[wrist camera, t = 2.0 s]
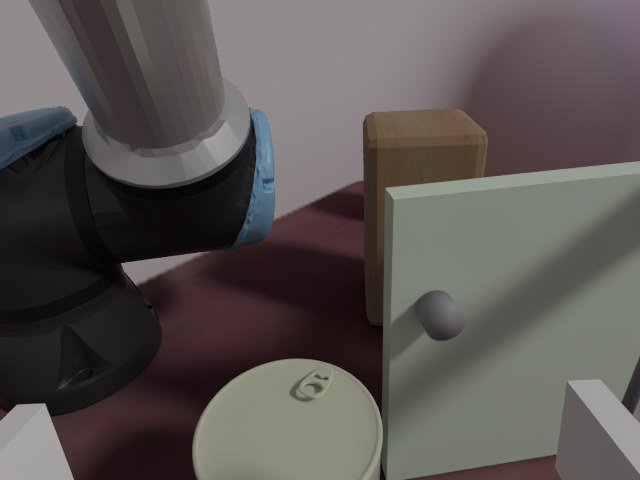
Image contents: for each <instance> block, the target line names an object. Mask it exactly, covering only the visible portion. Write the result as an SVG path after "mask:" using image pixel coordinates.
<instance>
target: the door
mask: <svg viewBox="0 0 640 480" xmlns="http://www.w3.org/2000/svg"><path fill="white" fill-rule="evenodd" d="M595 379H600V380H601V381H602V382H603V383H604V384H605V385H606V386H607V388H608V389H609V390H610V391H611V392H612V393H613V394H614V395H615V397H616V398H617V399H618V400H619V401H620V402H621V403H622V404H623V405H624V407H625V408H626V409H627V410H628V411H629V412H630V413H631V414H632V416H633V414H634V411H635V409H636V406H637V404H638V402H639V399H640V161H638V162H630V163H619V164H609V165H600V166H590V167H581V168H571V169H562V170H552V171H543V172H533V173H523V174H514V175H504V176H495V177H485V178H475V179H466V180H456V181H447V182H437V183H427V184H418V185H408V186H399V187H389V188H385V229H384V300H383V370H382V426H383V442H382V449H381V463H382V467H383V471H384V474H385V478H386V480H405V479H411V478H417V477H423V476H429V475H435V474H441V473H447V472H453V471H459V470H465V469H471V468H477V467H483V466H489V465H495V464H501V463H507V462H513V461H519V460H525V459H531V458H537V457H543V456H550V455H556V454H557V450H558V442H559V435H560V428H561V420H562V413H563V406H564V399H565V391H566V384H567V381H572V380H595Z"/></svg>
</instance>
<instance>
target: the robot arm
mask: <svg viewBox="0 0 640 480" xmlns="http://www.w3.org/2000/svg"><path fill="white" fill-rule="evenodd" d="M29 2H30V4H31V5H32V7H33V9H34V11H35V13H36V15H37V16H38V18H39V20H40V22H41V23H42V25H43V27H44V29H45V31H46V32H47V34H48V36H49V38H50V39H51V41H52V43H53V45H54V47H55V48H56V50H57V52H58V54H59V56H60V58H61V59H62V61H63V63H64V65H65V66H66V68H67V70H68V72H69V74H70V75H71V77H72V79H73V81H74V83H75V84H76V86H77V88H78V90H79V92H80V93H81V95H82V97H83V99H84V101H85V102H86V104H87V106H88V108H89V110H88V112H87V114H86V116H85V119H84V122H83V126H77V125H76V123H77V119H76V117H75V116H73V114H72V113H71V111H70V110H69V109H68V108H65V107H61V106H59V107H56V108H55V107H53V108H43V109H38V110H32V111H27V112H23V113H18V114H14V115H10V116H6V117H2V118H0V405H1V406H2V407H3V408H4V409H5V410H7V411H9V413H8V414H7V415H6V416H5V417H4V418H3V419H2V420H1V421H0V480H74V479H73V476H72V474H71V471H70V468H69V466H68V463H67V460H66V458H65V455H64V452H63V450H62V447H61V444H60V442H59V439H58V436H57V434H56V431H55V428H54V426H53V423H52V421H51V418H50V416H54V415H60V414H64V413H68V412H72V411H75V410H78V409H81V408H84V407H87V406H89V405H92V404H94V403H96V402H98V401H101V400H102V399H104V398H106V397H108V396H110V395H112V394H114V393H115V392H117V391H118V390H120V389H121V388H123V387H124V386H126V385H127V384H129V383H130V382H131V381H132V380H134V379H135V378H136V377H137V376H138V375H139V374H140V373H141V372H142V371H143V370H144V369H145V368H146V367H147V366H148V365H149V364H150V362H151V361H152V360H153V358H154V357H155V355H156V353H157V351H158V349H159V347H160V344H161V340H162V330H161V326H160V323H159V319H158V316H157V313H156V311H155V309H154V307H153V306H152V304H151V303H150V302H149V301H148V300H147V299H146V298H144V297H143V296H142V294H141V292H140V291H139V289H138V288H137V287H136V285H135V284H134V283H133V282H132V281H131V279H130V278H129V277H128V276H127V274H126V273H125V272H124V270H123V268H122V265H121V263H125V262H132V261H138V260H146V259H154V258H161V257H168V256H176V255H183V254H190V253H198V252H206V251H215V250H224V251H229V250H233V249H235V248H236V247H240V246H245V245H250V244H255V243H259V242H261V241H262V240H264V239H265V238H266V237H267V236H268V234H269V232H270V230H271V227H272V224H273V217H274V206H275V205H274V204H275V189H274V184H273V182H274V156H273V146H272V138H271V133H270V128H269V123H268V120H267V117H266V115H265V114H264V113H263V112H261V111H259V110H253V109H251V108H248V105H247V103H246V101H245V99H244V97H243V95H242V93H241V92H240V91H239V90H238V89H237V88H236V87H235V86H234V85H233V84H232V83H230V82H229V81H228V80H226V79H225V78H223V77H222V76H221V71H220V65H219V60H218V55H217V49H216V45H215V39H214V33H213V28H212V23H211V17H210V12H209V7H208V2H207V0H29ZM555 468H556V470H557V472H558V474H559V475H560V477H561V479H562V480H640V423H639V422H638V421H637V420H636V419H635V418H634V417H633V416H632V414H631V413H630V412H629V411H628V410H627V409H626V408H625V407H624V405H623V404H622V403H621V402H620V401H619V400H618V399H617V398H616V397H615V395H614V394H613V393H612V392H611V391H610V390H609V389H608V388H607V386H606V385H605V384H604V383H603V382H602V381H601V380H600V379H595V380H572V381H567V384H566V391H565V399H564V406H563V413H562V420H561V428H560V435H559V442H558V450H557V457H556V464H555Z"/></svg>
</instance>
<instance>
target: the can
mask: <svg viewBox="0 0 640 480" xmlns="http://www.w3.org/2000/svg"><path fill="white" fill-rule="evenodd" d="M382 442H383V426H382V420H381V416H380V412H379V410H378V407H377V405H376V403H375V400H374V399H373V397H372V395H371V394H370V393H369V391H368V390H367V389H366V387H365V386H364V385H363V384H362V383H361V382H360V381H359V380H358V379H356V378H355V377H354V376H352V375H351V374H350V373H348V372H346V371H345V370H343V369H341V368H339V367H337V366H335V365H332V364H329V363H326V362H322V361H317V360H311V359H285V360H278V361H273V362H269V363H266V364H262V365H260V366H257V367H255V368H252V369H250V370H248V371H246V372H244V373H242V374H241V375H239V376H238V377H236V378H234V379H233V380H232V381H230V382H229V383H228V384H226V385H225V386H224V387H223V388H222V389H221V390H220V391H219V392H218V393H217V394H216V395H215V396H214V397H213V399H212V400H211V401H210V402H209V404H208V405H207V407H206V408H205V410H204V411H203V413H202V415H201V417H200V419H199V421H198V424H197V427H196V430H195V434H194V438H193V445H192V460H193V467H194V471H195V475H196V478H197V480H380V458H381V449H382Z"/></svg>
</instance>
